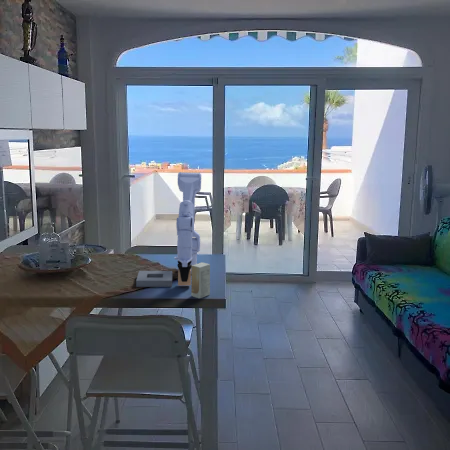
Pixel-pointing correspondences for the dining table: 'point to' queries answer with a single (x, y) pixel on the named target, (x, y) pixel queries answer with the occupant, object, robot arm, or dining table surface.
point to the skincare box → (200, 280)
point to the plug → (181, 280)
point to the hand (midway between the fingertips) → (184, 279)
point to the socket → (154, 279)
